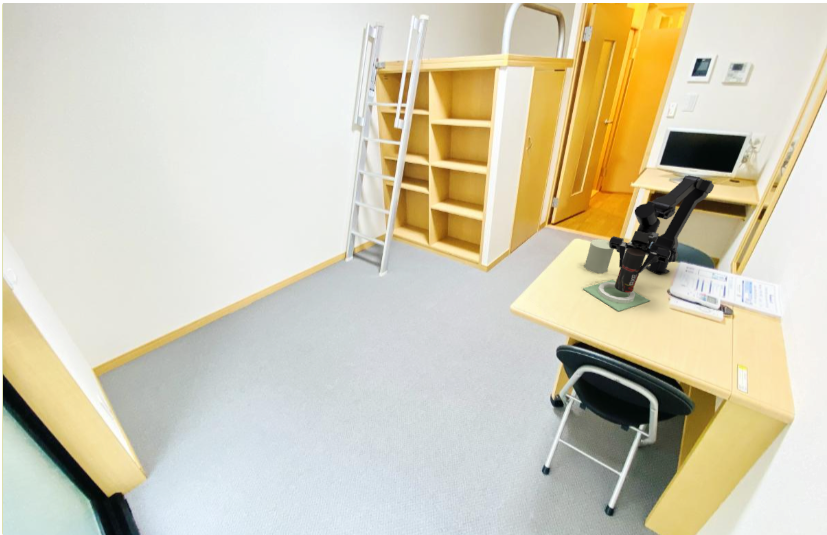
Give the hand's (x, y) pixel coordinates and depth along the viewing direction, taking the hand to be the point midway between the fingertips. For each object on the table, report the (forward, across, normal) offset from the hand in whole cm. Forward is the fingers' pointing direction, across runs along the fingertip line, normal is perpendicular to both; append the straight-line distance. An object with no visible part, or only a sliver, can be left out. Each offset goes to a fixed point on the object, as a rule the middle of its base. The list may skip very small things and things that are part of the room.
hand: (629, 269), depth 122 cm
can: (-4, -14, +22) cm, 27 cm away
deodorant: (+5, 0, +7) cm, 9 cm away
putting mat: (+8, -2, +10) cm, 12 cm away
